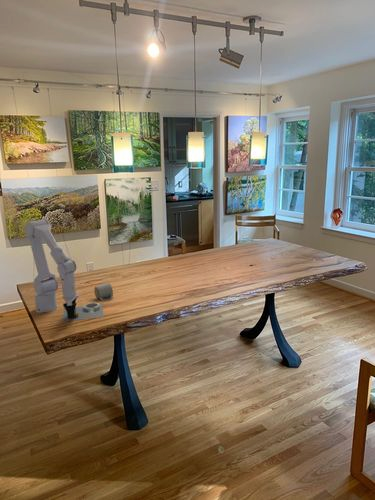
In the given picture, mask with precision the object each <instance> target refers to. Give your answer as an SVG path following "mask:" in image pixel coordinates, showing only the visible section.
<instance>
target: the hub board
mask: <svg viewBox="0 0 375 500" xmlns="http://www.w3.org/2000/svg"><path fill="white" fill-rule="evenodd" d="M103 310H104V309H103V304H102V303H99V302H87V303H85V304H84V305H82V306H76V312H78V315H79V317H76V318H74V319H68V318H67V311H66V309H65V308H64V309H63V316H62V323H65V322H73V321H82V320H88V319H89V320H90V319H95V318H96V319H97V318H104V311H103Z"/></svg>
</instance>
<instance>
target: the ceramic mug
mask: <svg viewBox="0 0 375 500" xmlns="http://www.w3.org/2000/svg"><path fill="white" fill-rule="evenodd" d="M93 291H94V296H95V298H96V300H101V301H103V302H109V301H111V300H112V298H113V297H114V292H113V291H114V290H113V287H112V284H111V283H110V282H106V283H103V284H99V285H96V286H95V287H94V290H93Z"/></svg>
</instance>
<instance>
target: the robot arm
mask: <svg viewBox="0 0 375 500" xmlns="http://www.w3.org/2000/svg"><path fill="white" fill-rule="evenodd" d="M23 227H24V228H23V229H24V232H25V236H26V240H28V241H29V244H30V248H31V251H32V255H33V260H34V264H35V267H36V271H37V275H36V276H35V278H34V279H33V285H34V286H33V288H34V292H35V293H36V294H35V295H34V302H35V304H34V305H35V311H36V314H37V313H49V312H53V311H56V310H57V309H58V304H57V296H56V292H57V291H58V289H59V286H60V285H59V281H58V280H57V278H56V275H55V274H54V273H52V272H50V268H49V264H48V261H47V258H46V253H45V249H44V245H43V241H44V242H45V244H46V245H47V246H48V248H49V249H50V256H51V257H52V258H53V261H54V262H55V264H56V266H57V268H56V269H57V272H58V274H59V275H58V276H59V278H60V279H61V280H60V281H61V290H62V299H63V300H64V301H65V302H64V303H63V304H62V305H63V308H64V309H66V311H67V314H68V317H69V318H74V312H75V307H77V302H76V301H77V298H80V294H77V291H76V280H75V279H76V278H75V272H76V270H77V263H76V261H75V260H74V259H72V258H71V257H69V256H68V254H67V253H66V252H65V250H64V248H63V247H62V246H59V245H58V243H57V241H56V240H55V237H54V235H53V233H52V225H51V223H50V222H49V220H48V219H47V218H43V219H39V220H33V221H27V222H25V225H24V226H23Z"/></svg>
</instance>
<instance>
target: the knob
mask: <svg viewBox="0 0 375 500" xmlns="http://www.w3.org/2000/svg"><path fill="white" fill-rule="evenodd" d="M76 307H77V306H76ZM76 307H75V312H74V318H76V317H79V315H78V312H76ZM67 318H68V319H74V318H69V317H68V314H67Z"/></svg>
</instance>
